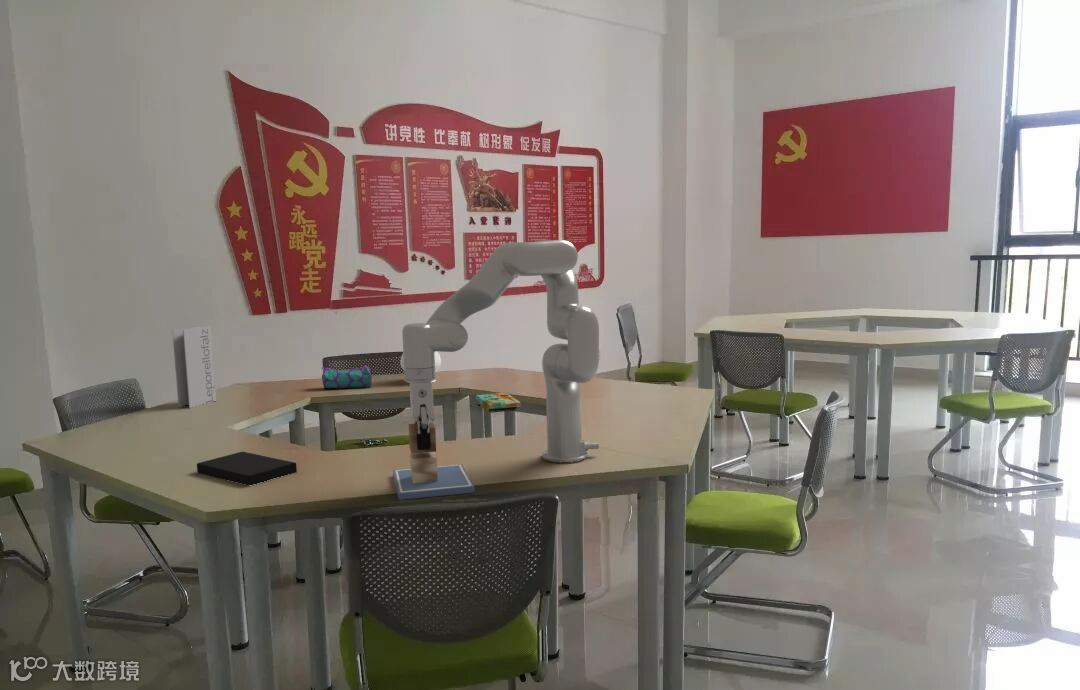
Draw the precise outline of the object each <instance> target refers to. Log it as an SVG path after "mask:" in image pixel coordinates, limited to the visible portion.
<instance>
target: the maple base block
mask: <svg viewBox="0 0 1080 690" xmlns="http://www.w3.org/2000/svg"><path fill="white" fill-rule="evenodd" d="M437 460H438V457H437V455H436V452H425V453H414V454H411V452H410V453H409V463H410V469H411V478H412V482H413V483H423V482H433V481H438V479H437V466H438V461H437Z"/></svg>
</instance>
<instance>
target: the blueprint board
mask: <svg viewBox="0 0 1080 690" xmlns="http://www.w3.org/2000/svg"><path fill="white" fill-rule="evenodd" d="M392 475H393V480H394V485H396V486H395V489H396V493H397V494H396V495H397V499H398V501H399V500H402V501H403V500H410V499H422V498H431V497H442V496H443V497H444V496H452V495H461V494H473V493H475V485H474V483H473V481H472V479H471V477H470V476H469V474H468V472H467V471H466V468H465V467H464V465H463V463H461V464H450V465H449V464H448V465H439V466H438V465H437V479H438V481H433V482H423V483H413V482H412V478H411V468H405V469H395V470H394V469H393V470H392Z"/></svg>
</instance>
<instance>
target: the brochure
mask: <svg viewBox="0 0 1080 690" xmlns="http://www.w3.org/2000/svg"><path fill="white" fill-rule="evenodd" d="M171 331H172V332H171V335H172V343H173V344H172V345H173V355H174V356H173V357H174V367H175V368H174V370H175V380H176V392H177V403H178V408H179V407H180V408H183V407H182V406H184V407H186V406H185V405H188V406H189V409H192V408H191V407H193V408H196V407H195V406H197V407H200V406H199V405H201V406H203V405H202V404H204V405H207V404H206V403H208V404H211V403H210V402H212V403H214V402H213V401H216V402H217V390H216V387H217V386H216V377H215V364H214V350H213V338H212V337H213V336H212V326H210V325H209V326H204V327H201V325H200V326H198V325H197V326H193V327H185V328H178V329H177V328H176V329H172V330H171Z"/></svg>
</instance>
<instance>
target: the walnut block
mask: <svg viewBox="0 0 1080 690" xmlns="http://www.w3.org/2000/svg"><path fill="white" fill-rule="evenodd" d="M420 425H421V424H420ZM436 431H437V430H436V426H435V424H434V421H431V422H429V432H430V441H431V449H427V450H418V449H417V434H418V428H417V424H415V423H408V441H409V450H410V453H411V454H414V453H425V452H434V453H436V452H437V440H436V439H437V437H436V434H437V433H436Z"/></svg>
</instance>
